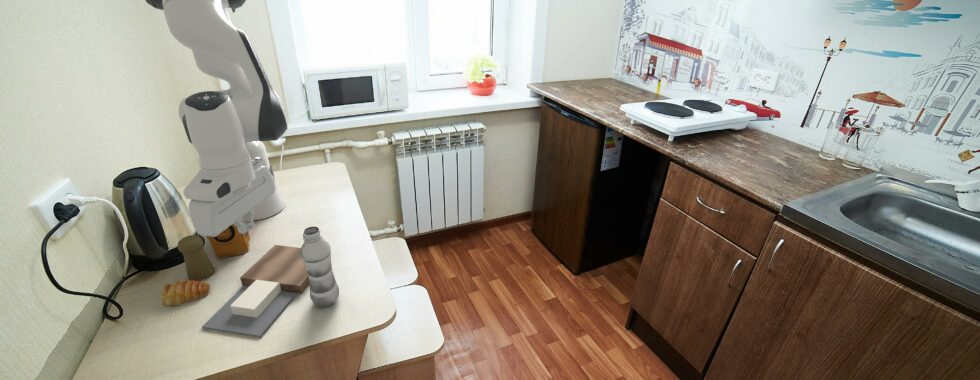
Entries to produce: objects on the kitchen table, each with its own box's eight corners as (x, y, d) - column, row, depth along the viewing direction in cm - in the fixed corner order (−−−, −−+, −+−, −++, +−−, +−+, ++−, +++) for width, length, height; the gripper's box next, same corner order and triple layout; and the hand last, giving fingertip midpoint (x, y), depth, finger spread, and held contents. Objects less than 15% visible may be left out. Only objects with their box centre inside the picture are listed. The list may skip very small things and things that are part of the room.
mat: (202, 328, 91) (201, 326, 90) (244, 287, 102) (244, 285, 102) (260, 337, 89) (260, 335, 88) (296, 294, 100) (296, 292, 100)
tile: (232, 314, 94) (229, 305, 92) (258, 287, 101) (256, 279, 100) (257, 317, 93) (254, 309, 92) (281, 290, 101) (279, 282, 99)
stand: (242, 285, 103) (239, 277, 102) (277, 252, 115) (275, 244, 114) (301, 293, 101) (299, 285, 99) (330, 258, 113) (329, 251, 112)
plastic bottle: (310, 313, 95) (293, 241, 86) (313, 293, 101) (296, 224, 91) (340, 308, 97) (326, 237, 87) (341, 289, 102) (327, 220, 93)
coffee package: (210, 263, 110) (183, 191, 100) (211, 239, 120) (187, 171, 109) (252, 253, 114) (230, 182, 104) (250, 231, 124) (230, 164, 114)
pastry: (214, 283, 104) (209, 271, 102) (207, 301, 98) (202, 289, 96) (170, 291, 101) (164, 279, 99) (161, 310, 95) (155, 298, 94)
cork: (202, 283, 103) (188, 247, 98) (182, 279, 104) (166, 244, 99) (221, 268, 108) (208, 233, 103) (201, 265, 110) (188, 230, 104)
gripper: (249, 152, 94) (264, 205, 101) (175, 195, 76) (198, 255, 83) (275, 155, 93) (287, 207, 100) (205, 198, 75) (226, 259, 82)
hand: (246, 229), depth 91 cm, fingers closed
